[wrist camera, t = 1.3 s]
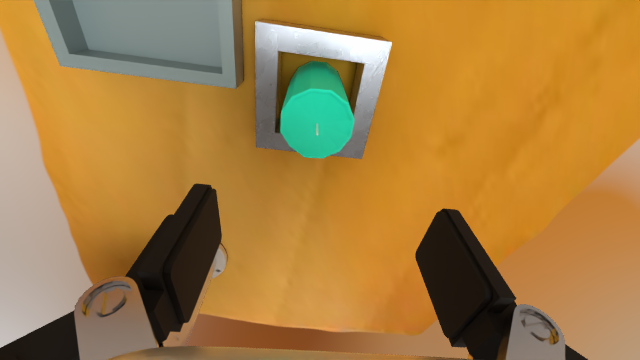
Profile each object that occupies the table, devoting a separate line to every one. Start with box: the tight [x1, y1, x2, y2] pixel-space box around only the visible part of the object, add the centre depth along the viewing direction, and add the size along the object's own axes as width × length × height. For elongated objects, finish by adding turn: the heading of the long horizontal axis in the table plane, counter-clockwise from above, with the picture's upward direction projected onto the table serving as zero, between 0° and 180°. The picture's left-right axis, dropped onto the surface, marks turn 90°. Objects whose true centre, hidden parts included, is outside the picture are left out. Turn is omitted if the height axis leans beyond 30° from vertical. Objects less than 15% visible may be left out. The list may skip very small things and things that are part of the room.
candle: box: [280, 61, 355, 158], centre depth 24 cm, size 6×6×12 cm
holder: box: [255, 19, 392, 159], centre depth 27 cm, size 12×12×4 cm
